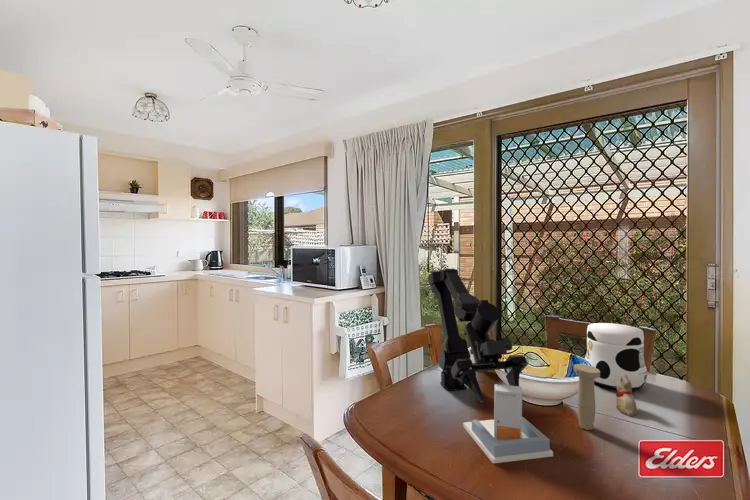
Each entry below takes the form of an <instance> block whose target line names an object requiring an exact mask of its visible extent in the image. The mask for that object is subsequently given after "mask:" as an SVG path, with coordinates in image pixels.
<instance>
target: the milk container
mask: <svg viewBox="0 0 750 500" xmlns="http://www.w3.org/2000/svg"><path fill="white" fill-rule="evenodd" d="M644 335H645V334H644V330H643V329H641V328H639V327H635V326H632V325H628V324H622V323H621V324H620V323H611V322H597V323H596V322H595V323H589V324H588V325H587V328H586V354H585V356H584V359H586V360H587V361H589V362H590V363H591V365H592V366H593V367H595V368H597V369H599V371H600V377H598V378H595V379H594V384H598V385H600V386H604V387H608V388H612V389H617V388H616V386H617V382H618V381H619V380H620V377H621V375H627V377H628V379H629V381H630V382H631V385H632V386H631V387H632V390H637V389H639V388H642V387H643V386H644V385H645V384H646V383H647V379H648V378H647V377H648V369H647V366H646V362H645V359H644V356H645V355H644V353H645V352H644V351H645V344H644V341H645V336H644Z"/></svg>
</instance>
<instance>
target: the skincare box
mask: <svg viewBox="0 0 750 500" xmlns="http://www.w3.org/2000/svg"><path fill="white" fill-rule="evenodd" d="M493 385H494V386H493V388H494V391H493V392H494V398H493V400H494V401H493V402H494V403H493V406H494V408H493V420H494V438H495V439H496V440H497V441H505V440H514V439H522V417H523V391H522V387H521V386H520V385H519V386H511V385H509V384H497V383H494V384H493Z"/></svg>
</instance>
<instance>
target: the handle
mask: <svg viewBox="0 0 750 500" xmlns="http://www.w3.org/2000/svg"><path fill="white" fill-rule="evenodd" d="M573 371H574V373H575V374H576V375H577V376H578V389H577V390H578V391H577V401H576V402H577V403H576V405H577V418H578V425H579V428H581V429H582V430H583V429H584V430H585V431H590V430H591V431H593V430H594V428H595V427H594V423H595V420H596V419H595V417H596V395H595V394H596V392H595V382H594V379H595V378H598V377H600V371H599V369H597V368H595V367H593V366H590V365H586V364H584V363H576V364H573Z"/></svg>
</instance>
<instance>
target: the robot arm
mask: <svg viewBox="0 0 750 500" xmlns="http://www.w3.org/2000/svg"><path fill="white" fill-rule="evenodd" d="M427 282H428V284H429V286H430V291H431V292H432V293H433V295H435V297H436V298H437V303H438V308H439V314H440V315H439V316H440V318H441V325H442V330H443V336H444V341H443V343H442V345H441V352H440V354H439V355H438V358H437V363H438V367H439V368H440V369H441V370H442V371H441V372H440V385H442V387H444V389H446V390H447V391H448V392H451V391H459V390H467V389H469V390H470V391H471V392H472V393H473V395H474V396H475V397H476V398H477V400H478V401H479V402H480V403H484V400H485V399H484V395H483V392H482V389H481V387H480V384H479V382H478V378H477V372H476V371H485V370H487V371H496V370H504V373H506V375H505V378H506V380H507V381H506V382H507V383H508V385H511V386H520V374H521V373H522V372H523V370H524V369H525V368H526V367H527V366H528V365H529V362H528V360H527V358H526V357H525V356H524V355H522V354H516V355H509V356H508V357H507V359H506V360H502V361H501V360H500V359H502V358H503V355H504V354H505V355H507V354H508V351H512V350H513V344H512V340H511V339H510V337H509V336H505V337H501V338H499V340H494V339H492V338H491V335H490V334H489V333H490V332H492V330H493V329H494V328H495V326H496V324H497V322H498V321H499V319H500V318H501V311H500V309H499V308H498V307H496V306H495V305H494V304H492V303H490V302H489V300H488V299H481V300H479V298H478V297H477V296H474V295H472V294H471V293H470V292H469V290H468V288H467V287H466V285H465V284H464V282H463V281H462V278H461V277H460V276H459V271H458V269H457V268H456V269H455V268H443V269H441V270H438V271H437V270H435V271H431V272H430V273H429V274H428V276H427ZM453 301H454V302H453ZM454 303H455V306H454ZM457 320H458V321H459V322H460V323H466V322H467V324H466V325H465V326H464V331H463V335H464V336H466V337H467V340H468V342H467V340H466V338H463V337H462V336H460V331H459V328H458V323H457V322H458V321H457ZM468 343H469V346H470V350H469V347H468ZM471 355H472V356H473V358H474V361H475V363H473V361H472V359H471V357H472V356H471ZM499 360H500V361H499Z"/></svg>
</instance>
